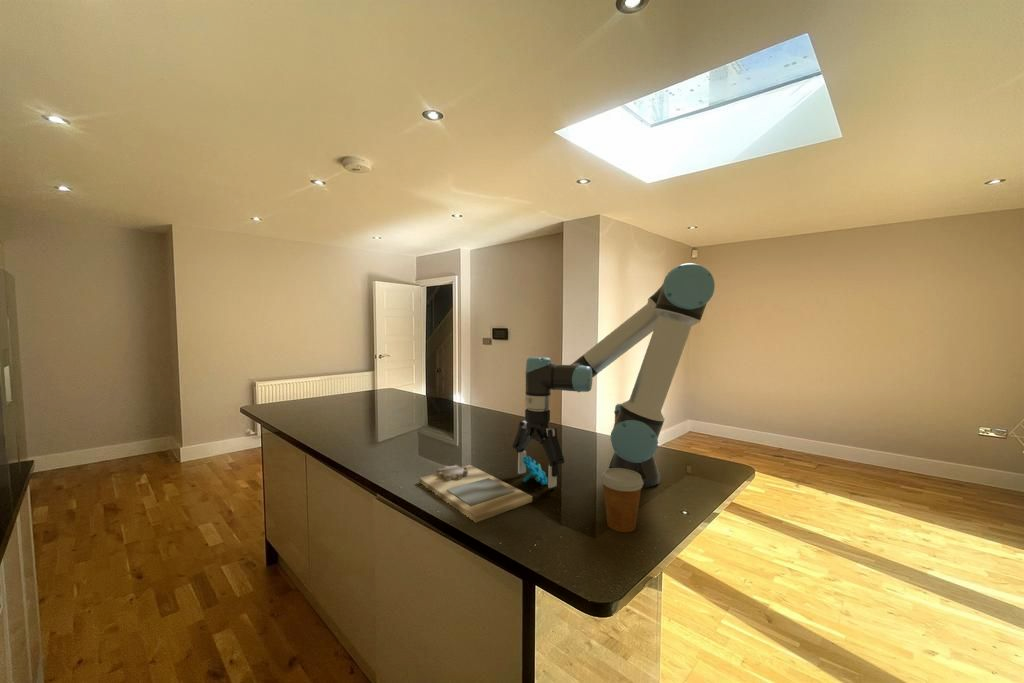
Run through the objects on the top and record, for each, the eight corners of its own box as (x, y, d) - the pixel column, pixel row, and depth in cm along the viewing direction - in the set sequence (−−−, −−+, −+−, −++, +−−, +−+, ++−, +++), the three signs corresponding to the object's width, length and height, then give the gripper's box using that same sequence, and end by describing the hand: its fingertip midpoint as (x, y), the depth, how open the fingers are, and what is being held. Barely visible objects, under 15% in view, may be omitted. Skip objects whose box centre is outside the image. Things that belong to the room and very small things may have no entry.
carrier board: (532, 501, 100) (532, 490, 100) (475, 522, 89) (475, 510, 89) (469, 469, 124) (469, 459, 124) (418, 482, 113) (418, 472, 112)
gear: (546, 485, 107) (523, 457, 110) (531, 499, 107) (508, 470, 110) (553, 477, 117) (532, 451, 120) (539, 489, 118) (518, 463, 121)
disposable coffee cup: (651, 533, 85) (652, 480, 85) (614, 539, 82) (615, 484, 82) (627, 513, 94) (628, 465, 94) (592, 518, 91) (593, 469, 91)
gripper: (502, 403, 120) (501, 470, 121) (559, 417, 101) (557, 496, 102) (520, 401, 125) (519, 465, 125) (577, 414, 106) (576, 489, 106)
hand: (536, 479), depth 114 cm, fingers open, 13 cm apart
